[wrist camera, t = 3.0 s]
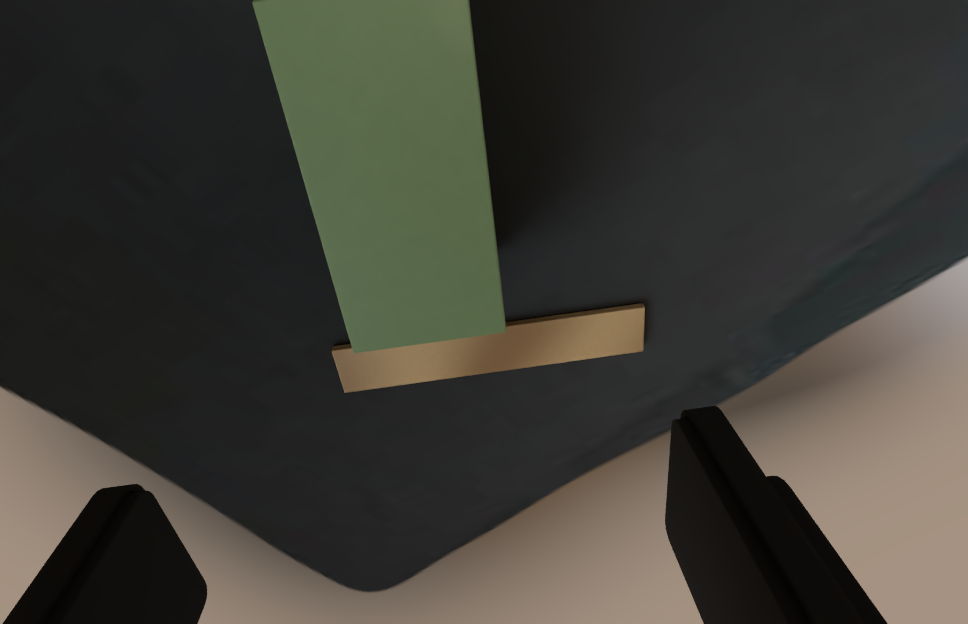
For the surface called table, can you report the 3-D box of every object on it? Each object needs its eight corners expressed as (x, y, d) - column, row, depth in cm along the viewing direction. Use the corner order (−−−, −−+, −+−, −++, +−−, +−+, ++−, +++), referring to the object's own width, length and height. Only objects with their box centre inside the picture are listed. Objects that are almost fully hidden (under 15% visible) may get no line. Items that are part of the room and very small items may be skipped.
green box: (372, 272, 23) (353, 354, 18) (304, -3, 18) (251, 1, 13) (490, 255, 23) (506, 332, 18) (457, -23, 18) (465, -29, 13)
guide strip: (345, 387, 26) (344, 393, 25) (332, 346, 25) (330, 350, 24) (640, 346, 26) (643, 351, 26) (642, 302, 25) (645, 307, 24)
